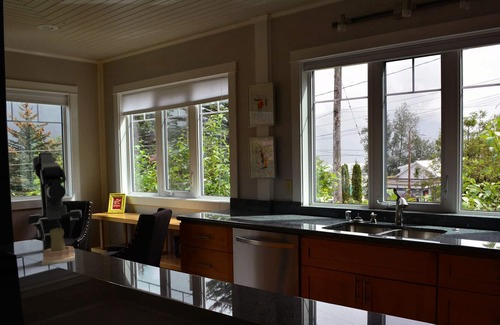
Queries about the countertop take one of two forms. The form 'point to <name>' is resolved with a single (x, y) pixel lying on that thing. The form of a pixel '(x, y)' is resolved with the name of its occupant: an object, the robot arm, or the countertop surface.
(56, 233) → the cork
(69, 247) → the socket board
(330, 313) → the countertop surface
